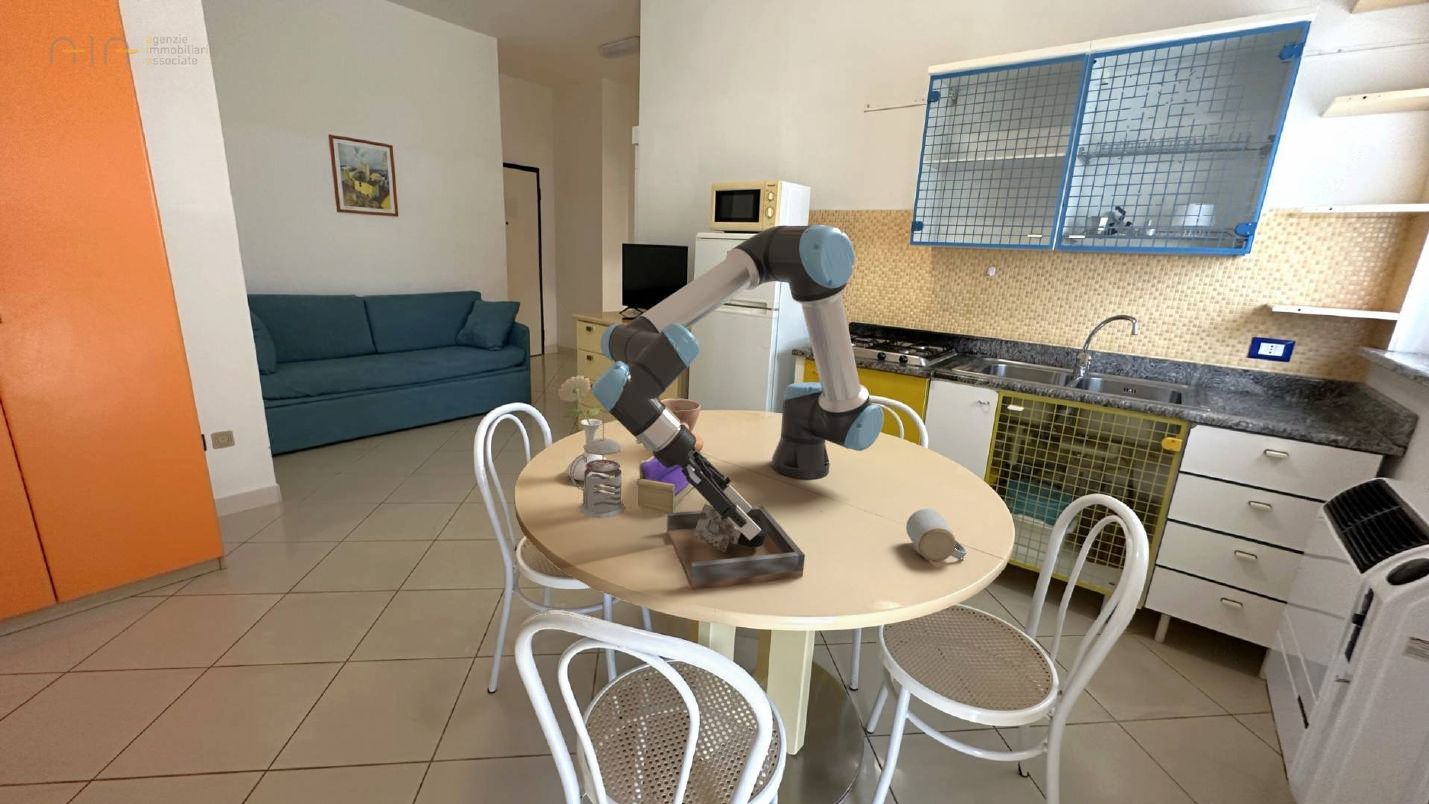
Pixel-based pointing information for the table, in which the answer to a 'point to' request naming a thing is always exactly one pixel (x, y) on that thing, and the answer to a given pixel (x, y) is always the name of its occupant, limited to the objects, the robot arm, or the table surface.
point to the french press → (601, 480)
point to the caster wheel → (724, 531)
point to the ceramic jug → (686, 415)
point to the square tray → (734, 553)
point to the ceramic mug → (933, 536)
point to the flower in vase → (571, 392)
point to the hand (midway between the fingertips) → (750, 522)
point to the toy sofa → (661, 485)
